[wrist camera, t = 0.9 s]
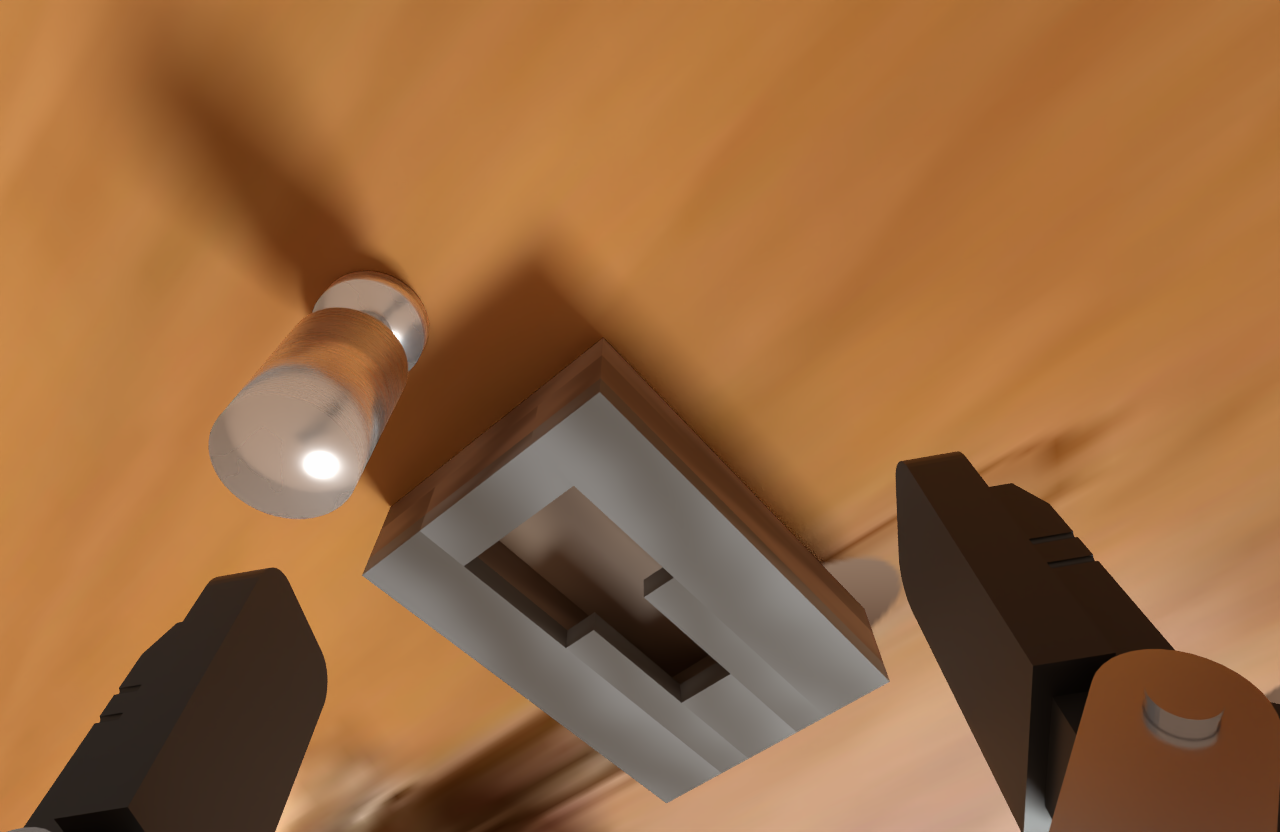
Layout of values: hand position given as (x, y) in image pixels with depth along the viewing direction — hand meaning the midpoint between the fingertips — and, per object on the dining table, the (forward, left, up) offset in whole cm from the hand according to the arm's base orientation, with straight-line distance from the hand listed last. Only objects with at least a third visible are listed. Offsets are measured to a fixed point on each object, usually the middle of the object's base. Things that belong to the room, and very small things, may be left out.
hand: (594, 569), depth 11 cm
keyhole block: (+10, +13, -20) cm, 26 cm away
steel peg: (+10, -2, -20) cm, 23 cm away
